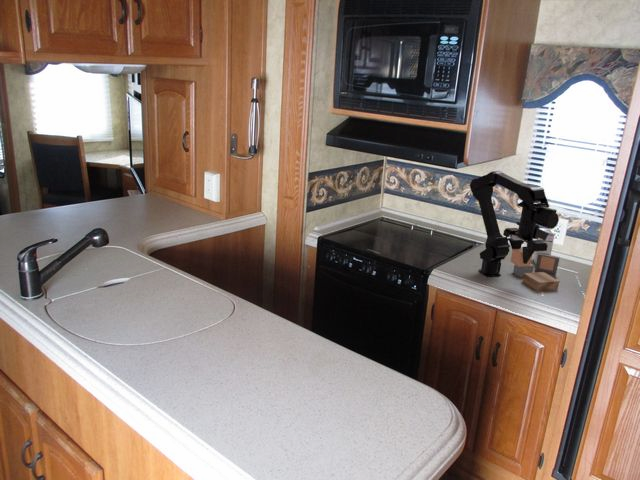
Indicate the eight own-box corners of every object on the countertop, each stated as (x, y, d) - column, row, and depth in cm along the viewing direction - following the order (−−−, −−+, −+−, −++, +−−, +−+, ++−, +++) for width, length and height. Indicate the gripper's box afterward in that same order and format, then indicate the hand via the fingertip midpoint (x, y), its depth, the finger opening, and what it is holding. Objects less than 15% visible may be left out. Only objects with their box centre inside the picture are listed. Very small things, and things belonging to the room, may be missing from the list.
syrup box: (549, 266, 231) (556, 233, 227) (534, 264, 232) (541, 231, 228) (546, 261, 237) (553, 229, 232) (532, 259, 238) (538, 227, 233)
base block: (536, 292, 205) (538, 282, 203) (522, 282, 213) (524, 273, 212) (557, 290, 207) (559, 281, 206) (541, 281, 215) (543, 272, 214)
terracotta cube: (518, 266, 202) (520, 253, 200) (510, 261, 207) (512, 249, 205) (530, 265, 203) (532, 253, 202) (521, 260, 208) (524, 248, 206)
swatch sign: (533, 274, 221) (537, 255, 219) (534, 270, 225) (538, 252, 223) (555, 278, 218) (559, 259, 216) (555, 274, 223) (559, 255, 220)
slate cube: (520, 277, 217) (522, 266, 215) (512, 272, 221) (515, 261, 220) (531, 277, 218) (533, 265, 217) (523, 272, 223) (525, 260, 221)
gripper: (564, 228, 193) (555, 269, 198) (531, 213, 210) (523, 251, 215) (537, 229, 190) (529, 270, 195) (505, 213, 207) (499, 252, 212)
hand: (520, 261), depth 205 cm, fingers closed on terracotta cube, 5 cm apart
